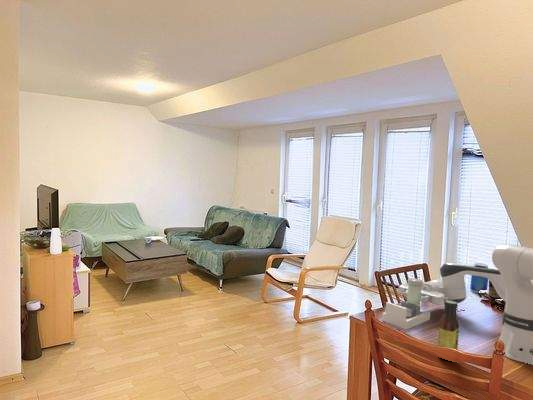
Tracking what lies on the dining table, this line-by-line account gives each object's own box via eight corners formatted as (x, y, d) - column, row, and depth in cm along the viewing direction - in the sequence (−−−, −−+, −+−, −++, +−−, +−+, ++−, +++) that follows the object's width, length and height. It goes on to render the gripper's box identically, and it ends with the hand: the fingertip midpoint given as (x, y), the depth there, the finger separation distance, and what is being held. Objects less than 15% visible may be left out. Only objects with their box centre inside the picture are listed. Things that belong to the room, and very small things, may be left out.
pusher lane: (429, 319, 172) (431, 300, 171) (406, 329, 159) (408, 309, 158) (406, 311, 180) (407, 293, 180) (382, 320, 167) (383, 301, 167)
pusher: (419, 319, 169) (420, 306, 168) (415, 321, 166) (416, 308, 166) (401, 313, 175) (402, 301, 174) (397, 314, 172) (398, 302, 172)
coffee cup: (501, 306, 196) (504, 281, 195) (483, 301, 202) (486, 277, 201) (507, 303, 201) (510, 279, 201) (490, 299, 208) (492, 275, 207)
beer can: (487, 292, 221) (489, 264, 219) (486, 295, 214) (489, 267, 212) (470, 289, 225) (473, 261, 224) (469, 292, 218) (471, 264, 217)
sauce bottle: (458, 363, 132) (464, 306, 130) (439, 360, 133) (444, 304, 131) (453, 354, 138) (458, 300, 137) (434, 352, 139) (439, 298, 138)
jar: (422, 315, 174) (425, 280, 172) (415, 317, 170) (418, 283, 168) (409, 310, 178) (412, 277, 177) (402, 313, 174) (405, 279, 173)
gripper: (449, 305, 174) (435, 311, 165) (407, 292, 190) (392, 297, 181) (450, 291, 174) (436, 296, 165) (408, 280, 189) (393, 284, 180)
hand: (412, 297), depth 173 cm, fingers closed on jar, 6 cm apart
